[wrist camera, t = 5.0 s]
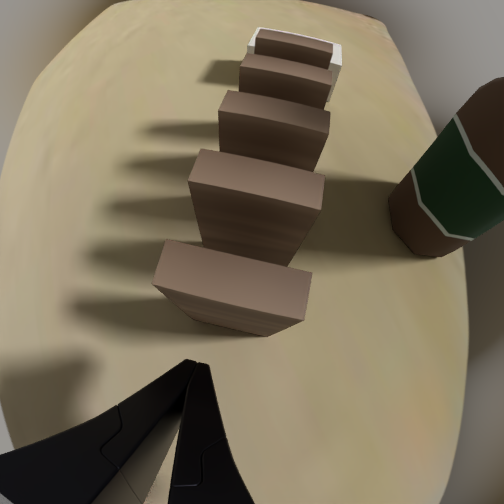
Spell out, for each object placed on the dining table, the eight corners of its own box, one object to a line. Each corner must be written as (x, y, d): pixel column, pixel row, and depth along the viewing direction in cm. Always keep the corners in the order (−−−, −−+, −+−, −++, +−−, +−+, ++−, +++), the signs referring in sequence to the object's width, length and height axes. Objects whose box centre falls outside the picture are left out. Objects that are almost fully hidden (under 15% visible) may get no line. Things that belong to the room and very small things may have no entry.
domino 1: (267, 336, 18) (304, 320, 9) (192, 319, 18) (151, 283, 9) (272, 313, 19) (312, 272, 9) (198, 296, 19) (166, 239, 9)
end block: (329, 101, 26) (341, 65, 22) (244, 83, 26) (247, 45, 22) (330, 77, 28) (341, 45, 23) (254, 61, 28) (258, 27, 23)
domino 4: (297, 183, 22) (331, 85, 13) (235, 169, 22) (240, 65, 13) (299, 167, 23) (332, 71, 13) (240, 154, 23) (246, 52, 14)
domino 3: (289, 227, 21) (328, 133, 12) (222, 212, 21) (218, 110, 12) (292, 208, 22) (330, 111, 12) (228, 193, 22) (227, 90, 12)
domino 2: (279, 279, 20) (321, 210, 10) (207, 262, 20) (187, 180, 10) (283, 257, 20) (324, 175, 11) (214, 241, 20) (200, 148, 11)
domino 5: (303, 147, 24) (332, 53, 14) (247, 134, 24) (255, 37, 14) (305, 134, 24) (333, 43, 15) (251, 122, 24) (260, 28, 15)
